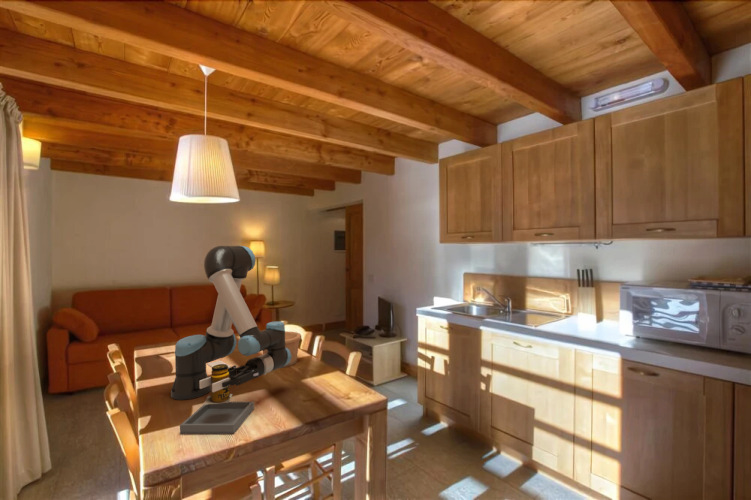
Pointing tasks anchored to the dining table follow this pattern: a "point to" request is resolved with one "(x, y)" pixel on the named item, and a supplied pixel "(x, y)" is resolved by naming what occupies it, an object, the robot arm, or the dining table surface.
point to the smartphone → (217, 363)
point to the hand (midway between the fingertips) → (206, 386)
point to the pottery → (291, 346)
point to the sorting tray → (217, 418)
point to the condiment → (223, 394)
